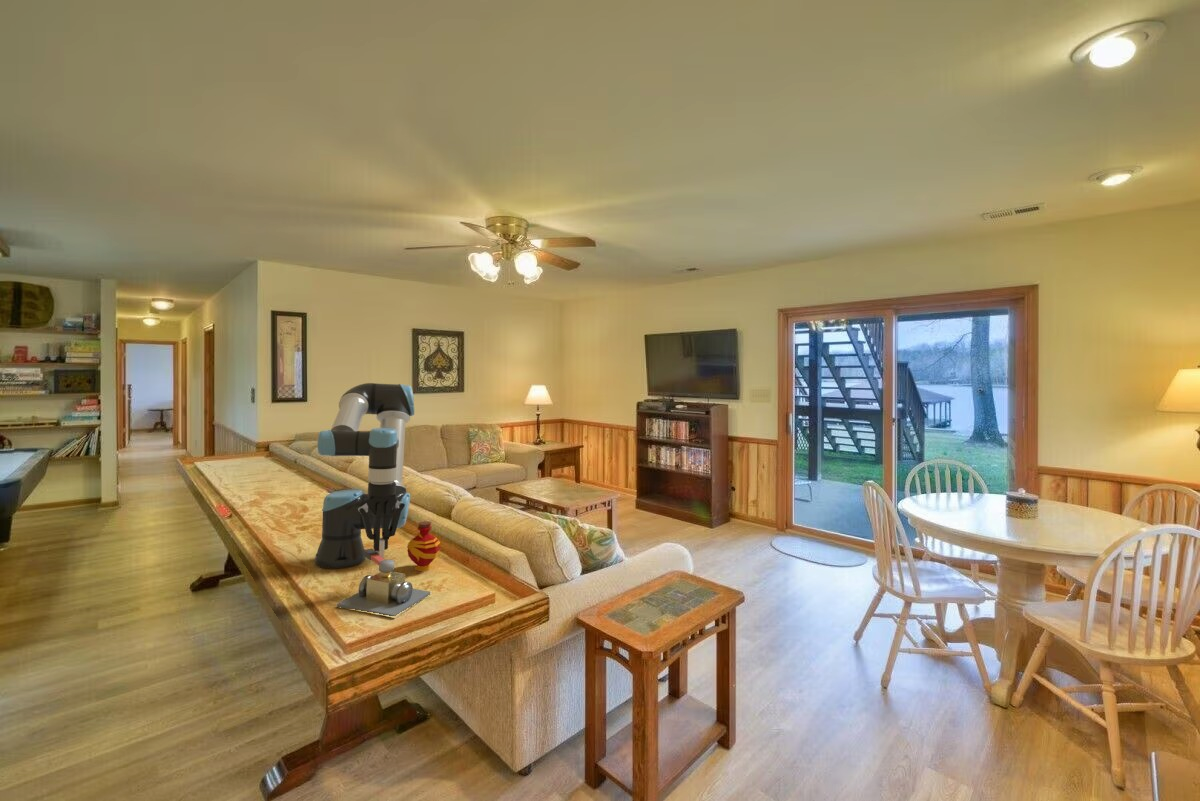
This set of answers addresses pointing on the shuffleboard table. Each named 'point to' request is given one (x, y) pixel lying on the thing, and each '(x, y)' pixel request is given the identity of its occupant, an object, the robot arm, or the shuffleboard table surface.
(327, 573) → the shuffleboard table surface
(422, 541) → the potion bottle
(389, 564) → the lever
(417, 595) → the slate board
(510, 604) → the shuffleboard table surface
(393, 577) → the valve body
